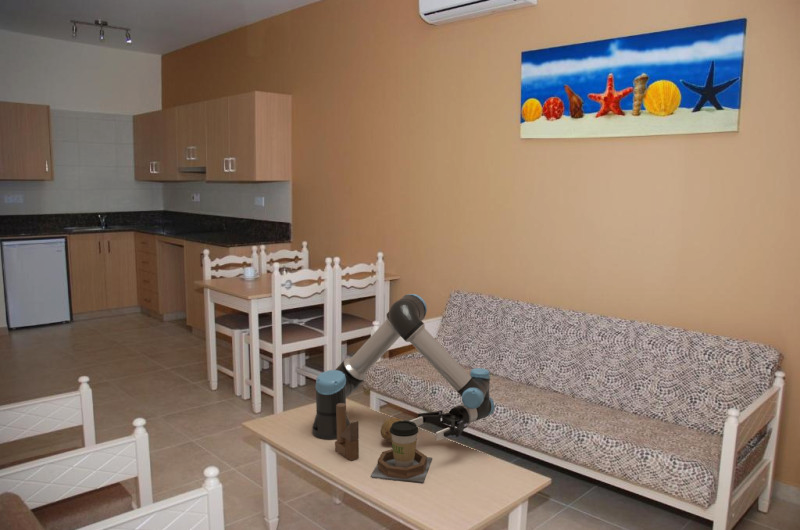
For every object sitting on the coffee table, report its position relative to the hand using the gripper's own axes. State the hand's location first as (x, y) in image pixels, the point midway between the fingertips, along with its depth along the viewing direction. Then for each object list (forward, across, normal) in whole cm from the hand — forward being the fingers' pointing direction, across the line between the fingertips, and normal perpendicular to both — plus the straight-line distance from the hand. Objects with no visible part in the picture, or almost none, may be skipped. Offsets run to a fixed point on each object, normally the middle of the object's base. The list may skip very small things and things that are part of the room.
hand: (422, 430), depth 215 cm
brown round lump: (-1, +17, -11) cm, 21 cm away
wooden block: (+17, +21, -11) cm, 30 cm away
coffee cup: (+9, 0, -10) cm, 14 cm away
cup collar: (+10, 0, -11) cm, 15 cm away
